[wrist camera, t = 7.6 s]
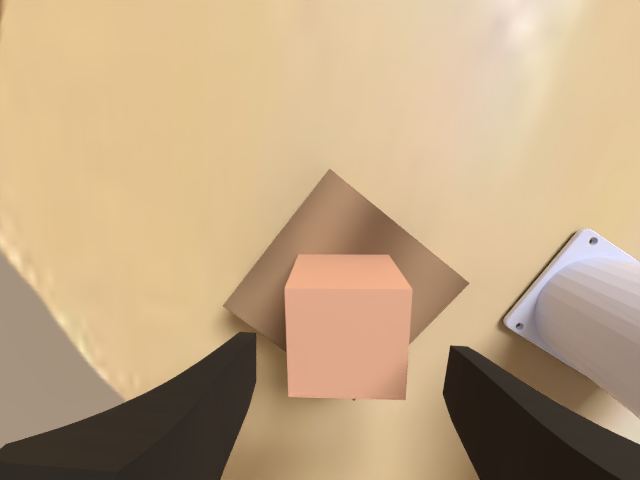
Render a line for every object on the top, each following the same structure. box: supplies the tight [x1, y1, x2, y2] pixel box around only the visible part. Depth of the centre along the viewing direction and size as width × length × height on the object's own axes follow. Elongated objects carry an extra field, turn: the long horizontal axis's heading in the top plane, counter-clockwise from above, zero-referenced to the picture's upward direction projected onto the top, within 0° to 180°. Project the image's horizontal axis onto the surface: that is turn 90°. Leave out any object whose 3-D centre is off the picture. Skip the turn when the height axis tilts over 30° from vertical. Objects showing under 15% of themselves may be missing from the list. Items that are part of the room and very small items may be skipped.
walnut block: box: [223, 169, 469, 400], centre depth 19 cm, size 10×10×4 cm
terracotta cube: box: [285, 254, 413, 400], centre depth 15 cm, size 5×5×5 cm
